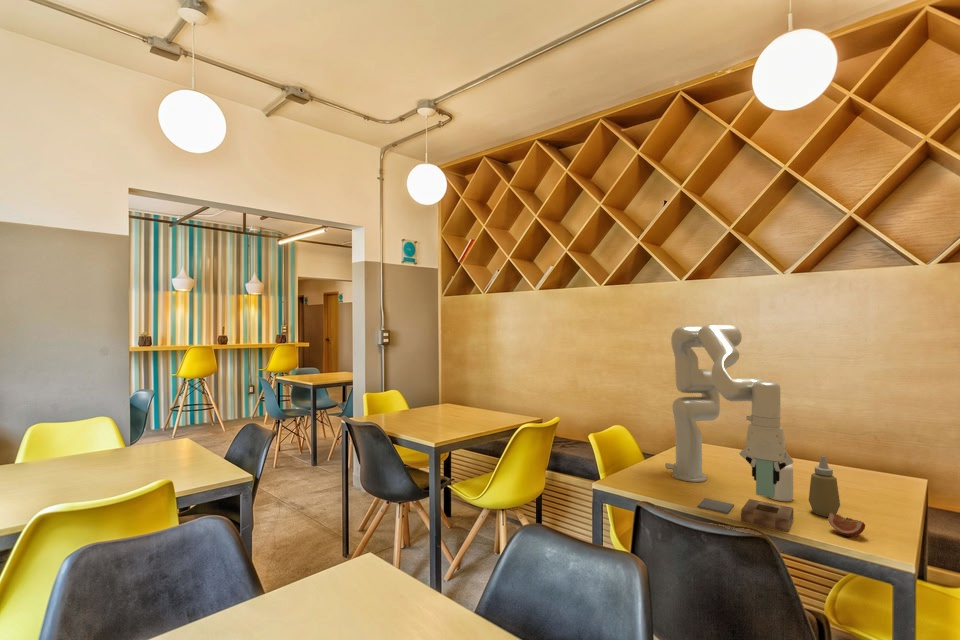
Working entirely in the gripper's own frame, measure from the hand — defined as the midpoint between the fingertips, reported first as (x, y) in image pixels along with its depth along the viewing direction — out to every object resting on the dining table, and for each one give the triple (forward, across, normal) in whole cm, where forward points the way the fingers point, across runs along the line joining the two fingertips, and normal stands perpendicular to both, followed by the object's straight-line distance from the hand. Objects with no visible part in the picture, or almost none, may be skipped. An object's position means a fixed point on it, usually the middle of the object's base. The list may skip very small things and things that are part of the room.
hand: (765, 480), depth 145 cm
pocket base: (+12, +1, -1) cm, 12 cm away
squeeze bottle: (+12, +14, +16) cm, 25 cm away
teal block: (+4, 0, 0) cm, 4 cm away
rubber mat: (+12, -14, +1) cm, 19 cm away
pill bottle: (+12, +1, +24) cm, 27 cm away
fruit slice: (+12, +20, +2) cm, 23 cm away
